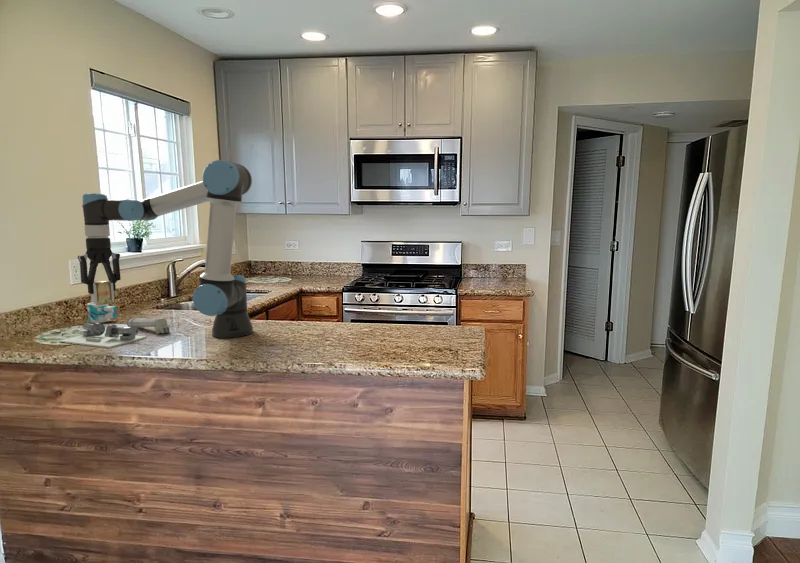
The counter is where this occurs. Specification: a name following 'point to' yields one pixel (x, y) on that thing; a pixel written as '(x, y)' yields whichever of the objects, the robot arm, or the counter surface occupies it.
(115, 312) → the mug
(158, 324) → the grey hammer
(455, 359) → the counter surface
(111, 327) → the shaft
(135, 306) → the counter surface
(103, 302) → the gold upright block
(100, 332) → the shaft
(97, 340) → the board
